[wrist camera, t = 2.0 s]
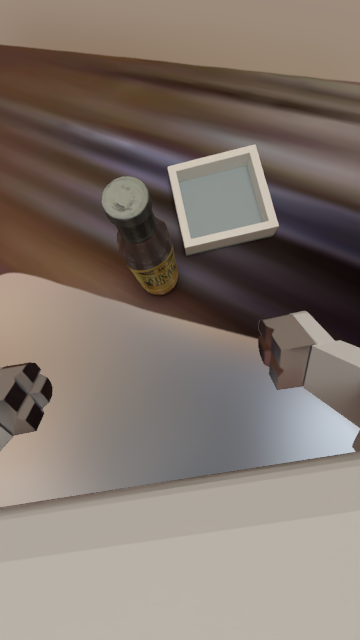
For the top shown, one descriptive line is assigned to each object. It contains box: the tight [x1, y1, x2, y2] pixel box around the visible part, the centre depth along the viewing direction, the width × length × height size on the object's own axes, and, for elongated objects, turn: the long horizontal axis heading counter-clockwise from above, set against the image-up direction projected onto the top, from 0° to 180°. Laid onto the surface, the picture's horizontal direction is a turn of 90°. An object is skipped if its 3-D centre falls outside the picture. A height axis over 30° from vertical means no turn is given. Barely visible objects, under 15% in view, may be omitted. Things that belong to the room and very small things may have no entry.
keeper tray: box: [168, 145, 279, 256], centre depth 38 cm, size 14×14×3 cm
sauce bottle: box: [102, 176, 178, 295], centre depth 29 cm, size 7×6×20 cm
